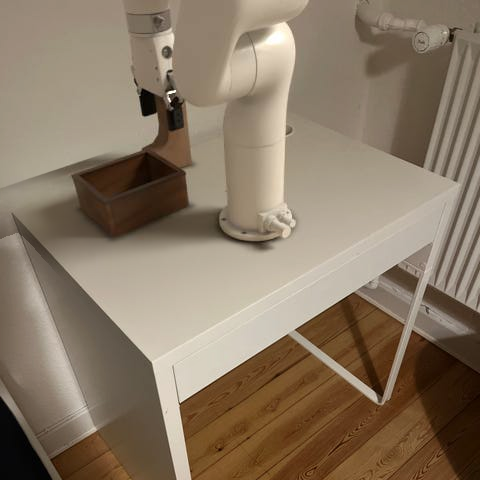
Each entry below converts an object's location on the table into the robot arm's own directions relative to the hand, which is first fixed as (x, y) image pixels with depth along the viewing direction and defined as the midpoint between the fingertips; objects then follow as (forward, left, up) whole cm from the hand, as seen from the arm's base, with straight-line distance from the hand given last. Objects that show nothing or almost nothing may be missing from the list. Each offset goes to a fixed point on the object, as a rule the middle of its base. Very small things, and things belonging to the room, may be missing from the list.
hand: (162, 121), depth 98 cm
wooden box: (-9, +14, -9) cm, 19 cm away
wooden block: (0, 0, -10) cm, 10 cm away
